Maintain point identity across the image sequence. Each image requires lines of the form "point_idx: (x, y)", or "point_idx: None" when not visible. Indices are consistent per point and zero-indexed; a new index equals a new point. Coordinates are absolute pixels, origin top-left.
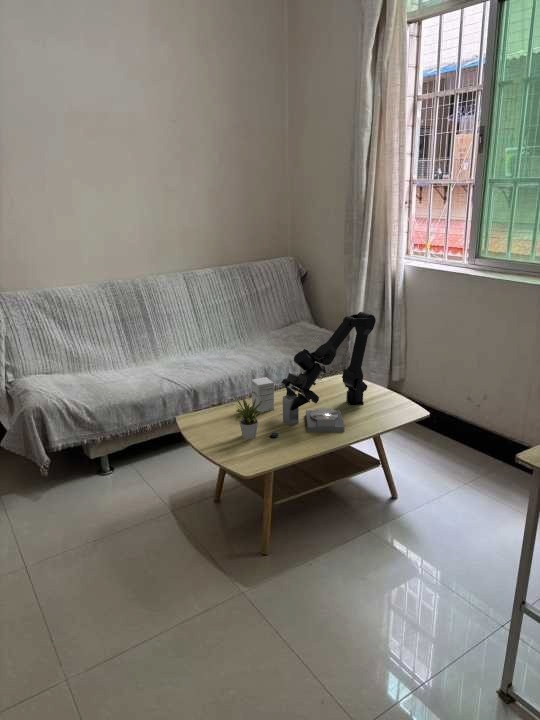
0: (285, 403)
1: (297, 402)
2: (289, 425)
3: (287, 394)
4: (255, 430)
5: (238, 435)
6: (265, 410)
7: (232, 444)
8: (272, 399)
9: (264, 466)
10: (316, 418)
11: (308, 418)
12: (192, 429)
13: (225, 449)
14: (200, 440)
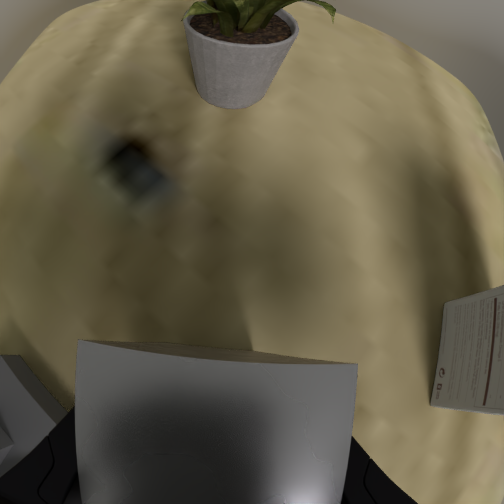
0: (230, 355)
1: (42, 452)
2: (165, 342)
3: (378, 502)
4: (190, 57)
5: None
6: (443, 345)
7: None
8: (483, 400)
9: (35, 43)
10: None
11: None
12: (395, 46)
13: None
14: (314, 13)
